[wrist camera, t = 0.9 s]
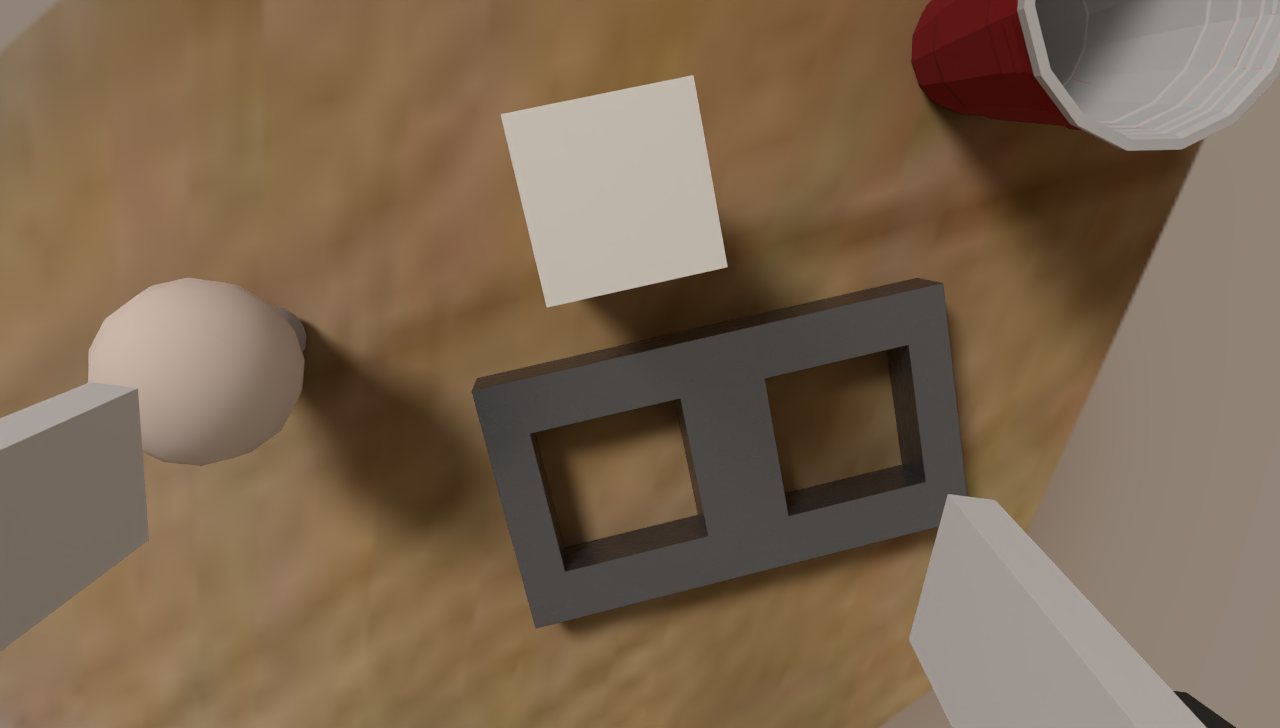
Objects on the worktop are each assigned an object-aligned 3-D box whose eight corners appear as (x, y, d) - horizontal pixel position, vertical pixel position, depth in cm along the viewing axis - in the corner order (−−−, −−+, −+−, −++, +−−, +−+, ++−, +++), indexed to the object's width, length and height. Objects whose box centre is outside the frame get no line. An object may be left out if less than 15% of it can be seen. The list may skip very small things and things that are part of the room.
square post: (548, 264, 34) (546, 307, 20) (522, 154, 33) (500, 114, 19) (653, 241, 35) (727, 267, 20) (631, 132, 33) (693, 75, 19)
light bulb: (386, 329, 34) (310, 386, 23) (293, 433, 34) (177, 534, 24) (266, 230, 32) (127, 242, 22) (171, 339, 33) (-11, 403, 22)
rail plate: (536, 601, 38) (535, 628, 35) (477, 378, 35) (471, 391, 33) (943, 499, 39) (969, 518, 37) (916, 277, 36) (943, 283, 34)
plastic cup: (1045, 187, 36) (1279, 178, 25) (838, 148, 35) (984, 118, 23) (1108, -50, 34) (1395, -182, 23) (891, -103, 33) (1080, -275, 21)
